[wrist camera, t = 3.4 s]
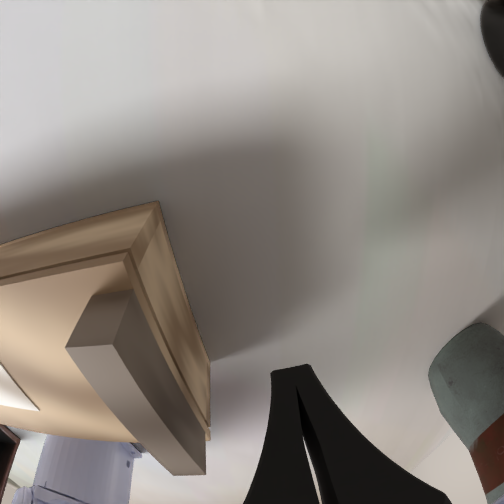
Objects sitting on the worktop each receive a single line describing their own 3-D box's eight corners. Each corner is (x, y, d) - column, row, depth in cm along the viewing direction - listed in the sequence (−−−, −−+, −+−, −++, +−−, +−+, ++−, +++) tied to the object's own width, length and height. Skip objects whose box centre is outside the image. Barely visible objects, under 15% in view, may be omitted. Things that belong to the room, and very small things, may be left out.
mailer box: (210, 362, 19) (210, 427, 14) (16, 371, 18) (-4, 413, 14) (158, 200, 14) (130, 247, 9) (-48, 262, 13) (-85, 299, 9)
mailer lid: (210, 431, 14) (211, 480, 11) (-5, 416, 14) (-17, 445, 11) (127, 252, 9) (95, 313, 6) (-88, 301, 9) (-111, 329, 6)
